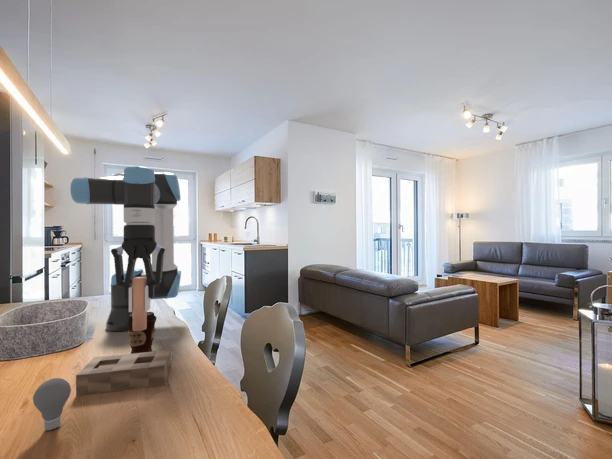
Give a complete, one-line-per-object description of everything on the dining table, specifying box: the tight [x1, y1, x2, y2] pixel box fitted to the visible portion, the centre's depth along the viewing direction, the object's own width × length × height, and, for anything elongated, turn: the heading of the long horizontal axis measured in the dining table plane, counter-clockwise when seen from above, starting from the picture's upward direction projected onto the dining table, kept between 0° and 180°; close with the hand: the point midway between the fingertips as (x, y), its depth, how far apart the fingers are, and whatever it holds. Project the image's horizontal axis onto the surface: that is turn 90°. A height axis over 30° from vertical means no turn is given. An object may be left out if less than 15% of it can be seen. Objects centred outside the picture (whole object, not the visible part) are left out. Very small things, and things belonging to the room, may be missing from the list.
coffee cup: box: [127, 311, 157, 354], centre depth 101 cm, size 9×8×13 cm
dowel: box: [132, 277, 148, 331], centre depth 84 cm, size 3×3×14 cm
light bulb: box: [32, 377, 72, 431], centre depth 63 cm, size 6×6×10 cm
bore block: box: [75, 349, 172, 397], centre depth 84 cm, size 11×20×5 cm, turn 105°
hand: (139, 310), depth 84 cm, fingers closed on dowel, 3 cm apart
